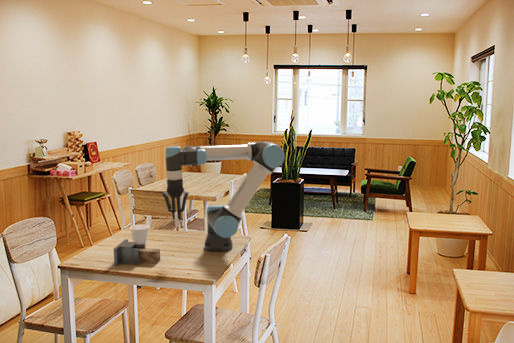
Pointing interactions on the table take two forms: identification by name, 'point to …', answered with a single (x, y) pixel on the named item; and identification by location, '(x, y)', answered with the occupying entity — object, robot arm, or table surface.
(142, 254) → the slat
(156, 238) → the table surface
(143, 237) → the cup
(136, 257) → the endcap
